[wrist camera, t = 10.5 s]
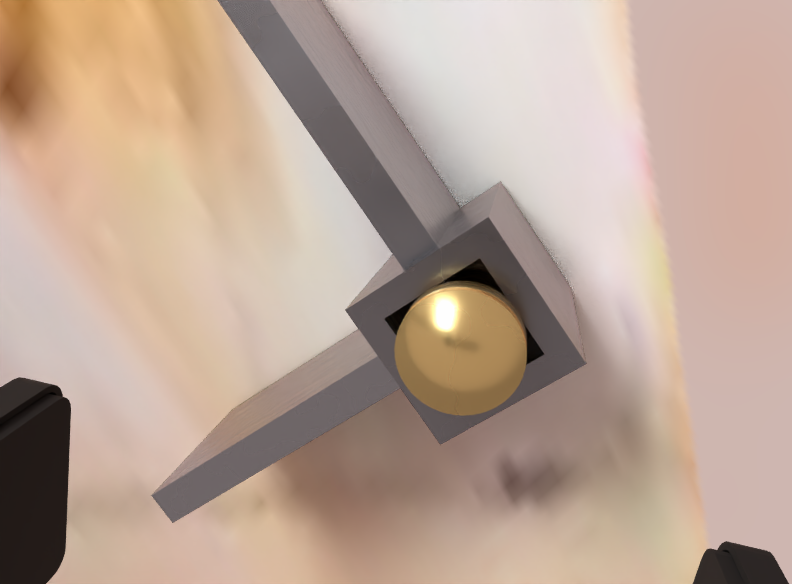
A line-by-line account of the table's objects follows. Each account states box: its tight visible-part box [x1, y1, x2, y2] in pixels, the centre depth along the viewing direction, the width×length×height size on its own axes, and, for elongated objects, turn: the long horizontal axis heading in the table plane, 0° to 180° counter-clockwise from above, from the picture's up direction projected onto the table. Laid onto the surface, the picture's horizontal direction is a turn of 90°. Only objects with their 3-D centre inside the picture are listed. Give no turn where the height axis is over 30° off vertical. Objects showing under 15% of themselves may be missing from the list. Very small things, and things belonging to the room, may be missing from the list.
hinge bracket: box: [151, 0, 586, 523], centre depth 25 cm, size 15×15×8 cm
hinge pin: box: [394, 258, 527, 416], centre depth 23 cm, size 3×3×10 cm
